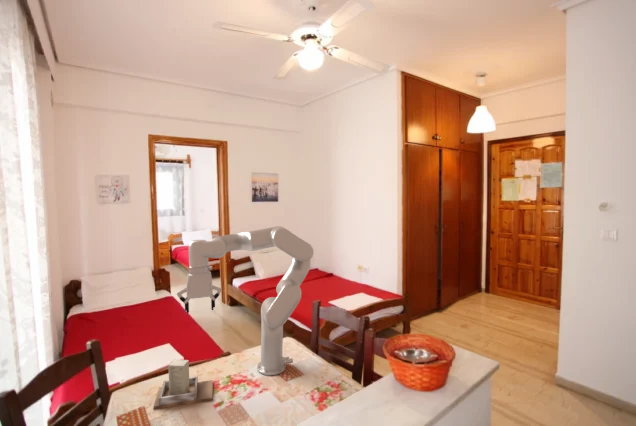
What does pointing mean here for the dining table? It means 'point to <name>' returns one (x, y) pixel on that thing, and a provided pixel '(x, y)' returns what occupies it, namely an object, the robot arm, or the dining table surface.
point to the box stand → (194, 395)
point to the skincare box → (178, 377)
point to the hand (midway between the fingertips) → (200, 310)
